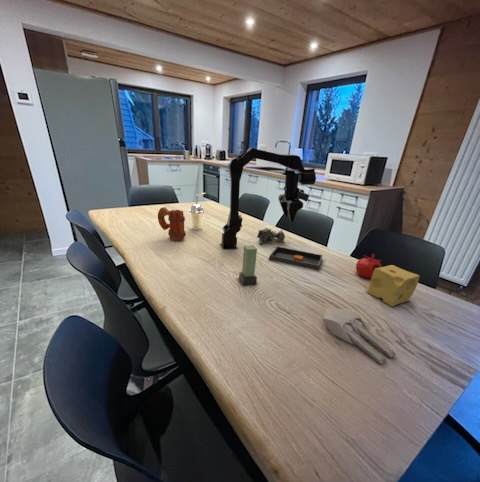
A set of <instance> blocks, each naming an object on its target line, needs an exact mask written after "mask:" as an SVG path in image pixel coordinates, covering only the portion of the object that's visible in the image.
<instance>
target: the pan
mask: <svg viewBox="0 0 480 482" xmlns="http://www.w3.org/2000/svg"><path fill="white" fill-rule="evenodd" d="M295 255H299V256H303V260H302V262H301V261H296V260H294V257H295ZM323 256H324V255H323V254H317V253H314V252H309V251H302V250H297V249H293V248H288V247H283V246H276V247H275V248H274V250H273V251H272V252H271V253H270V255H269V259H268V260H269V261H273V262H278V263H283V264H285V265H286V264H287V265H291V266H297V267H301V268H304V269H305V268H306V269H311V270H315V271H319V269H320V266H321V263H322V260H323Z"/></svg>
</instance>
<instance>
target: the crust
mask: <svg viewBox="0 0 480 482" xmlns="http://www.w3.org/2000/svg"><path fill="white" fill-rule="evenodd" d="M294 260H296V261H301V262H302V260H303V256H299V255H295V257H294Z"/></svg>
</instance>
